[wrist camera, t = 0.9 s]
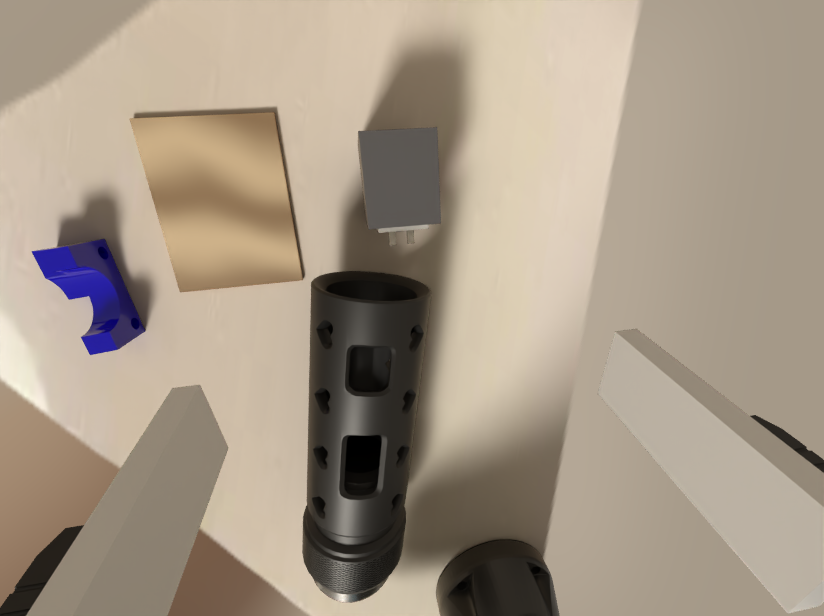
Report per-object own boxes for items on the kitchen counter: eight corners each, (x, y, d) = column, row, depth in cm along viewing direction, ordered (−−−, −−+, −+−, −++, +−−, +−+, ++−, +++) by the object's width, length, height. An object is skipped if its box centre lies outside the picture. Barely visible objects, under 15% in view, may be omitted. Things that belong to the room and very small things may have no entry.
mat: (303, 279, 31) (302, 280, 31) (182, 291, 30) (180, 292, 30) (274, 113, 27) (273, 112, 27) (132, 119, 26) (129, 118, 25)
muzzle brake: (421, 272, 33) (449, 307, 23) (394, 508, 41) (406, 606, 31) (315, 264, 31) (297, 298, 21) (309, 512, 39) (294, 617, 30)
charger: (423, 234, 32) (441, 246, 25) (367, 239, 31) (370, 253, 24) (418, 141, 29) (437, 127, 23) (357, 145, 29) (358, 131, 22)
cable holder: (58, 246, 28) (12, 255, 24) (106, 238, 28) (67, 246, 24) (104, 338, 30) (68, 359, 27) (146, 330, 31) (118, 349, 27)
